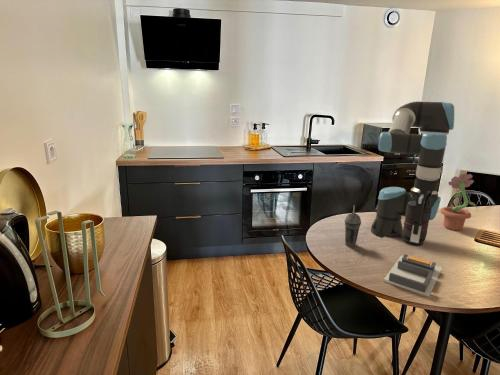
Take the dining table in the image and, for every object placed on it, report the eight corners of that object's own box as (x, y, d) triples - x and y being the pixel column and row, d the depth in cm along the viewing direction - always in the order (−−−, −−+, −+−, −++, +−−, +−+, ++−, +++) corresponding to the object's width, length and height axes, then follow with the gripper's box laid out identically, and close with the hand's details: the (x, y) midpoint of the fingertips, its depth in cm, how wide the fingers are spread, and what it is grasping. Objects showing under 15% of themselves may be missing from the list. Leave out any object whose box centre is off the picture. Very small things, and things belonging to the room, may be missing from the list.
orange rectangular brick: (406, 264, 142) (407, 258, 141) (408, 261, 145) (409, 255, 144) (428, 270, 138) (429, 264, 137) (429, 267, 140) (430, 261, 139)
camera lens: (424, 249, 123) (431, 209, 118) (400, 244, 126) (406, 205, 122) (425, 240, 129) (432, 202, 125) (402, 236, 133) (408, 199, 129)
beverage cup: (359, 243, 163) (364, 203, 157) (357, 249, 157) (362, 208, 151) (343, 240, 166) (347, 200, 160) (340, 246, 160) (345, 205, 154)
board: (383, 281, 132) (384, 272, 131) (400, 257, 150) (402, 249, 149) (429, 296, 123) (431, 287, 121) (441, 269, 141) (443, 260, 140)
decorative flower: (463, 223, 187) (475, 170, 179) (474, 234, 174) (487, 177, 166) (434, 221, 190) (444, 168, 181) (443, 231, 177) (454, 175, 168)
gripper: (433, 186, 110) (421, 251, 117) (444, 173, 126) (434, 231, 132) (408, 182, 114) (398, 244, 121) (422, 170, 130) (413, 226, 137)
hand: (417, 237), depth 127 cm, fingers closed on camera lens, 8 cm apart
